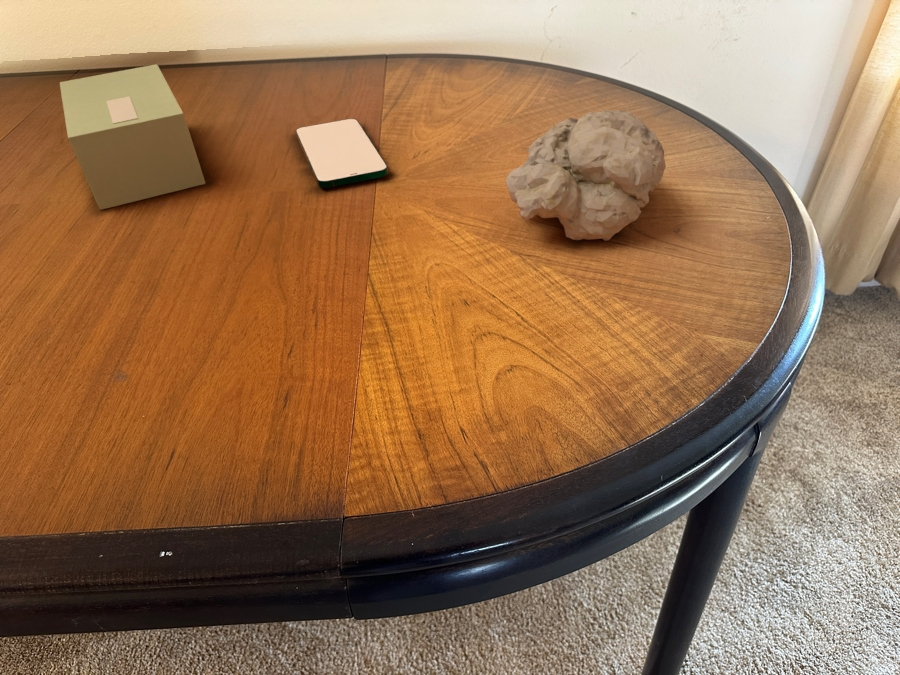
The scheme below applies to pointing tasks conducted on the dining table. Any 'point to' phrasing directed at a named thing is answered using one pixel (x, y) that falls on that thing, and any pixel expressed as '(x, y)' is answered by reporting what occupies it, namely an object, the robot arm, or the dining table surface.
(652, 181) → the mineral
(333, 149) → the smartphone
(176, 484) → the dining table surface
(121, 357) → the dining table surface
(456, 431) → the dining table surface
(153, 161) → the tissue box
